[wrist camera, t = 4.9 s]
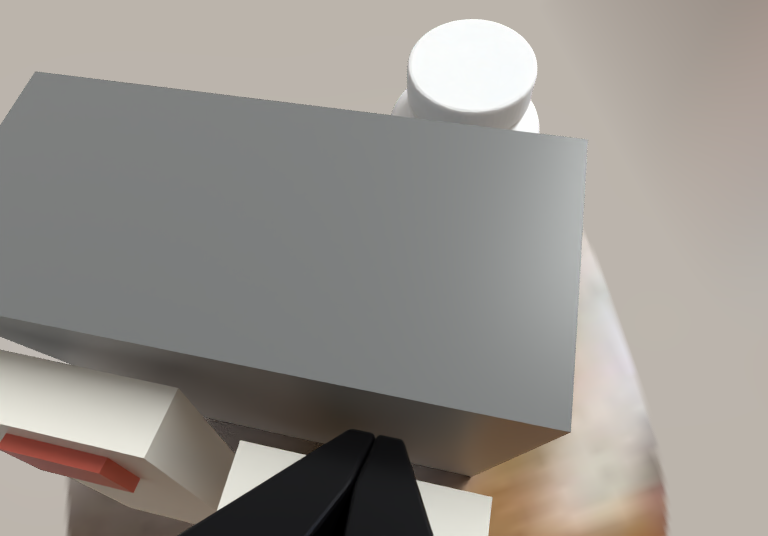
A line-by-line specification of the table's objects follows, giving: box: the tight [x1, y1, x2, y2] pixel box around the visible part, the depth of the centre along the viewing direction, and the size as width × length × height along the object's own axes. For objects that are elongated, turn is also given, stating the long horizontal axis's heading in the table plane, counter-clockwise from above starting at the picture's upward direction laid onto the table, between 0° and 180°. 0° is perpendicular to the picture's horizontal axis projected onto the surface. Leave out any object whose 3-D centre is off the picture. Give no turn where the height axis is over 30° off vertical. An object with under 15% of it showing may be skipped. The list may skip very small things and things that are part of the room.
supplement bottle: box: [391, 19, 539, 133], centre depth 20 cm, size 5×5×10 cm
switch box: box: [0, 72, 588, 477], centre depth 15 cm, size 5×11×14 cm, turn 78°
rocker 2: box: [217, 440, 492, 536], centre depth 11 cm, size 2×4×8 cm, turn 78°
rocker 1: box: [0, 350, 235, 524], centre depth 12 cm, size 2×4×8 cm, turn 78°
